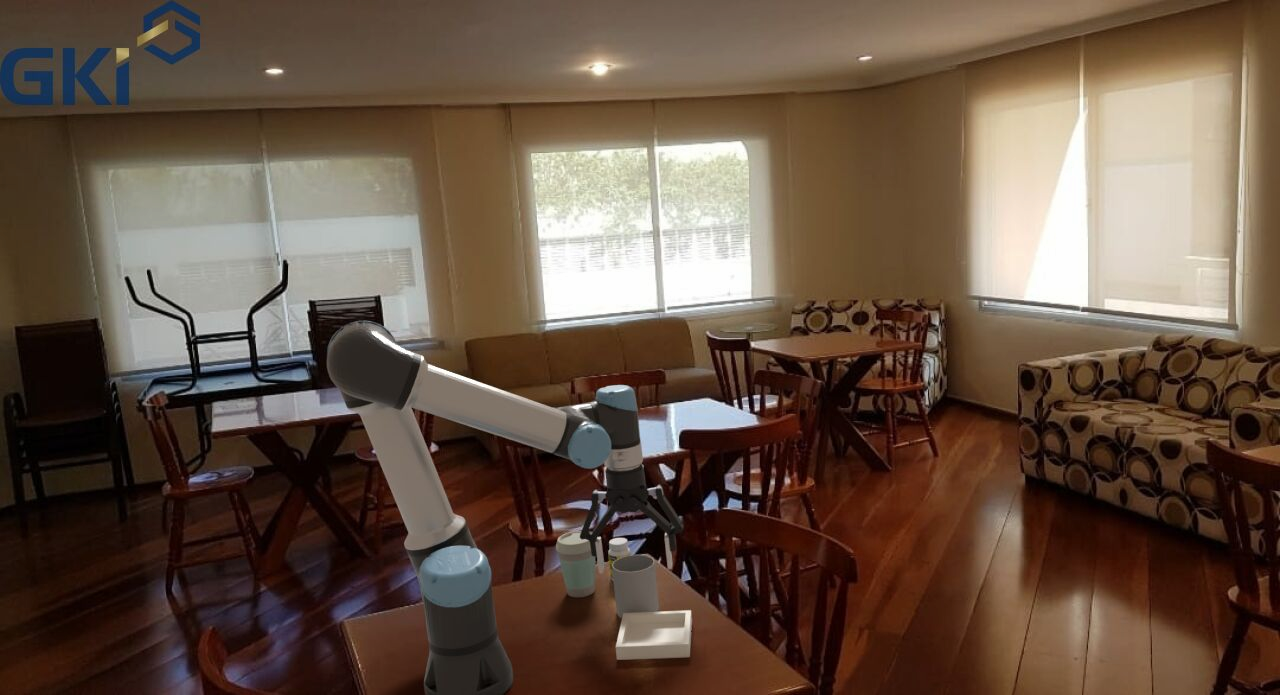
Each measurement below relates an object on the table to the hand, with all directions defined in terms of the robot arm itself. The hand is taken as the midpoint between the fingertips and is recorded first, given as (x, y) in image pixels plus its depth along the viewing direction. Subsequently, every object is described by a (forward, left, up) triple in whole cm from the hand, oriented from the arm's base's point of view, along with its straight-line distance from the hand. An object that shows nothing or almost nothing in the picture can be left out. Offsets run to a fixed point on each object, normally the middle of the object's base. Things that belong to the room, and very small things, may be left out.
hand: (635, 568), depth 178 cm
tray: (+4, -13, -9) cm, 16 cm away
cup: (0, 0, -9) cm, 9 cm away
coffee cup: (-13, +10, -9) cm, 19 cm away
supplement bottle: (-5, +16, -9) cm, 19 cm away
